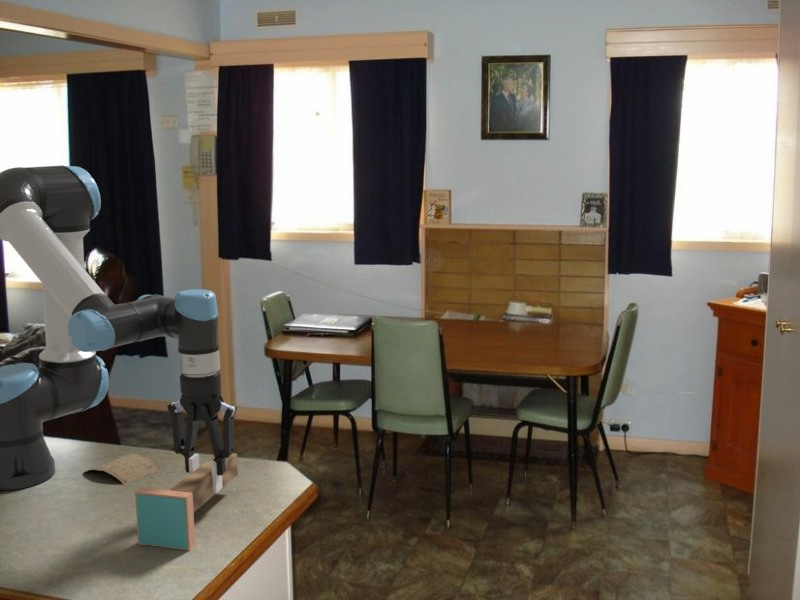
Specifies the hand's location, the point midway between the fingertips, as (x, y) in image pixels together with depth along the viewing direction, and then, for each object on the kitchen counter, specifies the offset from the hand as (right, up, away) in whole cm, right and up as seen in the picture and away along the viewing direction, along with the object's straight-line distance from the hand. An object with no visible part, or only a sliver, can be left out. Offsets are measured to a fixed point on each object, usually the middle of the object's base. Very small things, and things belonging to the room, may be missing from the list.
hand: (206, 488), depth 164 cm
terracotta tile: (-4, -7, -14) cm, 16 cm away
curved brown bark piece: (-23, -1, +19) cm, 30 cm away
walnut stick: (0, -1, 0) cm, 1 cm away
